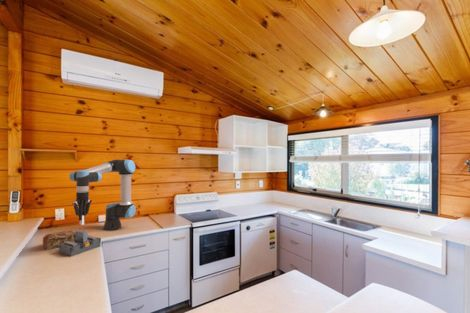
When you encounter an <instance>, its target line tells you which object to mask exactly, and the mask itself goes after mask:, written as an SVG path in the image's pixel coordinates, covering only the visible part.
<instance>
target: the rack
mask: <svg viewBox="0 0 470 313" xmlns="http://www.w3.org/2000/svg"><path fill="white" fill-rule="evenodd" d="M101 241H102V238H101V237H96V236H92V235H88V238H87V242H84V243H80V242H76V241H75V240H72V241H67V242H64V243H62V244H59V247H58V254H61V255H64V256H67V257H74V256H77V255H80V254H84V253H85V252H88V251H91V250H94V249H97V248H100V247H101V244H102V243H101Z"/></svg>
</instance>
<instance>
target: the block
mask: <svg viewBox="0 0 470 313" xmlns="http://www.w3.org/2000/svg"><path fill="white" fill-rule="evenodd" d="M74 232H75V241H76V242H80V243H84V242H87V238H88V236H89V235H88V234H89V232H88V231H87V230H81V229H78V230H75V231H74Z"/></svg>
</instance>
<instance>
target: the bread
mask: <svg viewBox="0 0 470 313" xmlns="http://www.w3.org/2000/svg"><path fill="white" fill-rule="evenodd" d="M72 240H75V231H73V230H63V231H62V230H61V231H56V232H52V233H48V234H46V235H44V236H43V237H42V245H43V248H44V249H45V250H46V251H47V250H52V249H59V244H62V243H64V242H67V241H72Z"/></svg>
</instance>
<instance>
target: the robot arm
mask: <svg viewBox="0 0 470 313" xmlns="http://www.w3.org/2000/svg"><path fill="white" fill-rule="evenodd" d="M135 170H136V163H135V162H134V161H133V160H131V159H118V158H117V159H113V160H108V161H106V162H103V163H102V164H98V165H95V166H92V167H90V168H87V169H78V170H77V171H72V172H70V173H69V176H68V177H69V180H70V181H72V182H75V183H76V186H75V187H76V189H75V190H76V194H75V197H76V199H75V201H74V202H72V205H73V209H74V213H75V216H78V221H79V225H81V226H83V225H84V226H85V220H86V216H87V215H88V214H89V212H90V207H91V204H92V202H93V200H92V199H89V197H90V196H89V195H90V193H89V190H90V183H98V182H100V181H101V180H102V178H103V175H102V174H105V173H107V174H109V173H114V172H115V173H118V175H119V177H120V202H114V203H113V202H112V203H108V204H106V206H105V222H104V225H103V227H102V229H103V230H104V231H116V230H119V228H120V229H121V228H122V221H121V219H120V218H122V219H131V218H133V217H134V216H135V214H136V212H137V211H136V210H137V207H136V206H135V205H134V202H133V201H132V176H133V173H134V172H135ZM115 229H116V230H115Z"/></svg>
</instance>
